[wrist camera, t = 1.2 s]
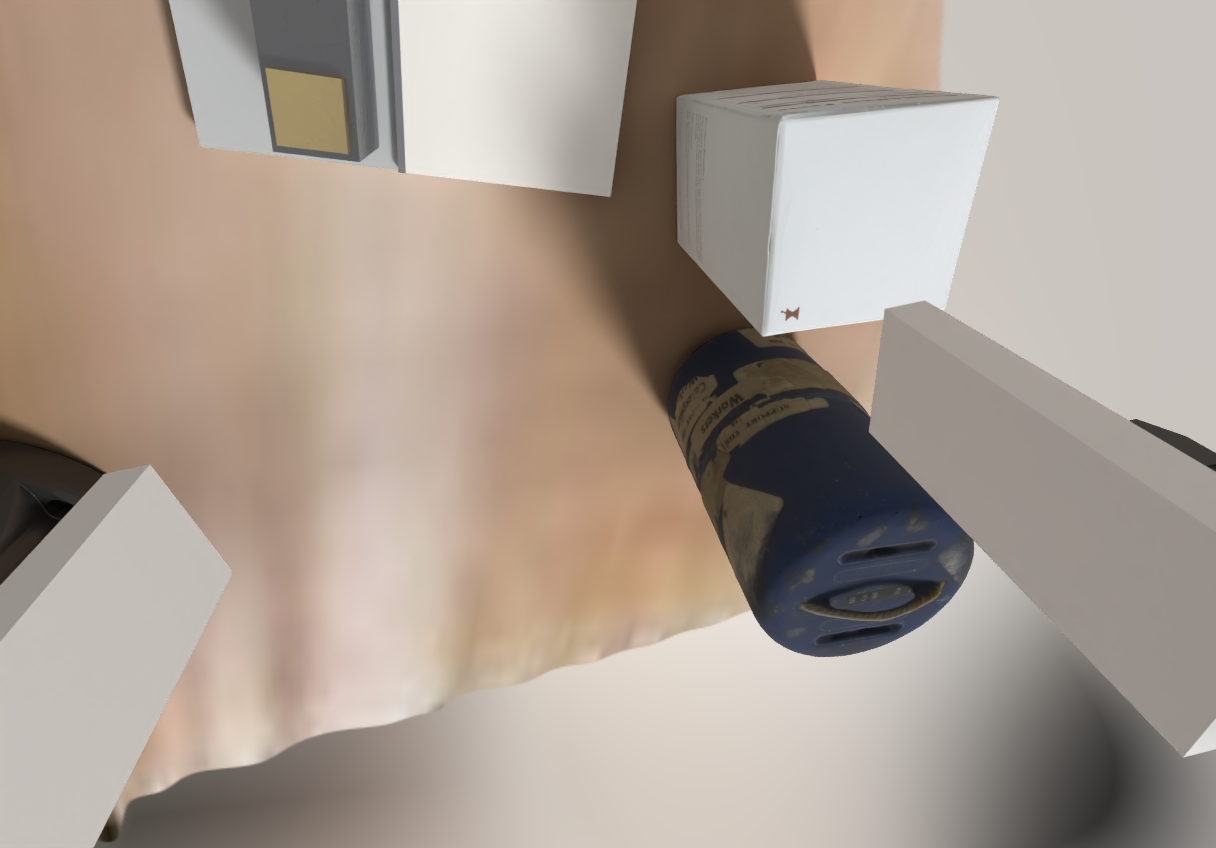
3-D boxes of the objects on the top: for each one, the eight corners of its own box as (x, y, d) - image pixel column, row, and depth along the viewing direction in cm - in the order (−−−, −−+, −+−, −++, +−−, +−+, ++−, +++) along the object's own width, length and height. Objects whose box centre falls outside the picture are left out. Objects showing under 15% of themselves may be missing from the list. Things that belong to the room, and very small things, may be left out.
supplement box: (803, 230, 32) (947, 319, 22) (673, 244, 31) (756, 343, 21) (823, 76, 28) (1012, 93, 17) (673, 88, 27) (777, 114, 17)
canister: (687, 307, 33) (831, 515, 19) (829, 330, 36) (1059, 533, 21) (646, 441, 38) (734, 691, 23) (773, 454, 41) (927, 690, 26)
